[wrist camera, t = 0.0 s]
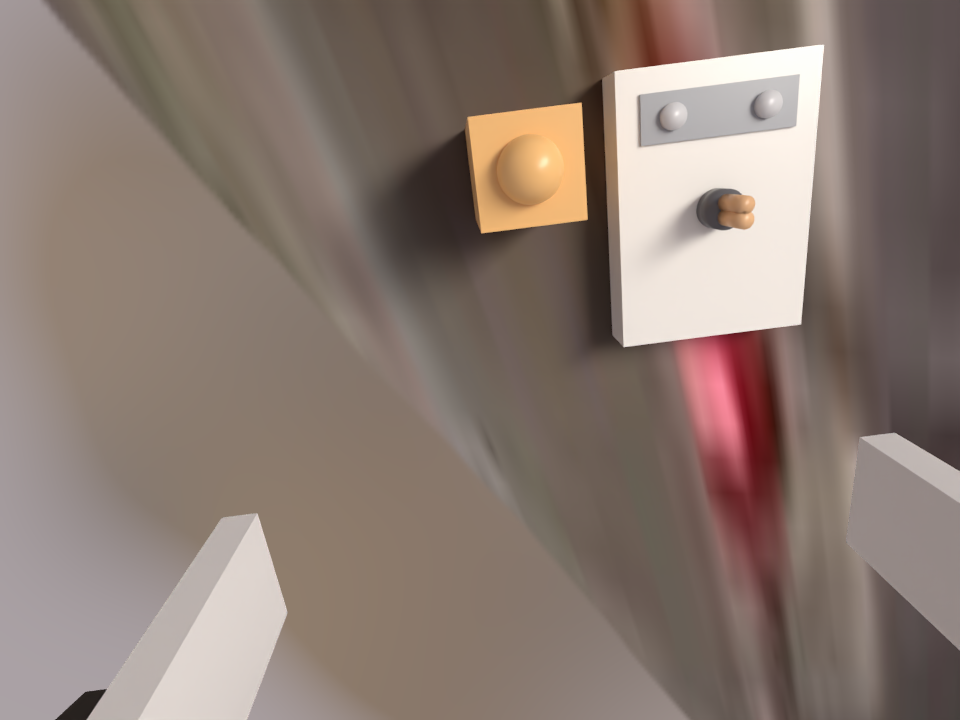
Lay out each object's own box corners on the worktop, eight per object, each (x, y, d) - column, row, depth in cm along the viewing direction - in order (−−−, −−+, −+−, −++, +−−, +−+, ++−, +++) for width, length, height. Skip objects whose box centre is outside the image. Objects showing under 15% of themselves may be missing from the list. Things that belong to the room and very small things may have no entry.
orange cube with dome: (464, 129, 37) (468, 113, 26) (552, 118, 37) (590, 97, 26) (475, 219, 39) (483, 237, 28) (558, 208, 39) (596, 223, 28)
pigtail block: (602, 79, 36) (634, 58, 29) (795, 54, 36) (871, 28, 29) (612, 335, 42) (641, 365, 35) (777, 313, 42) (837, 340, 35)
